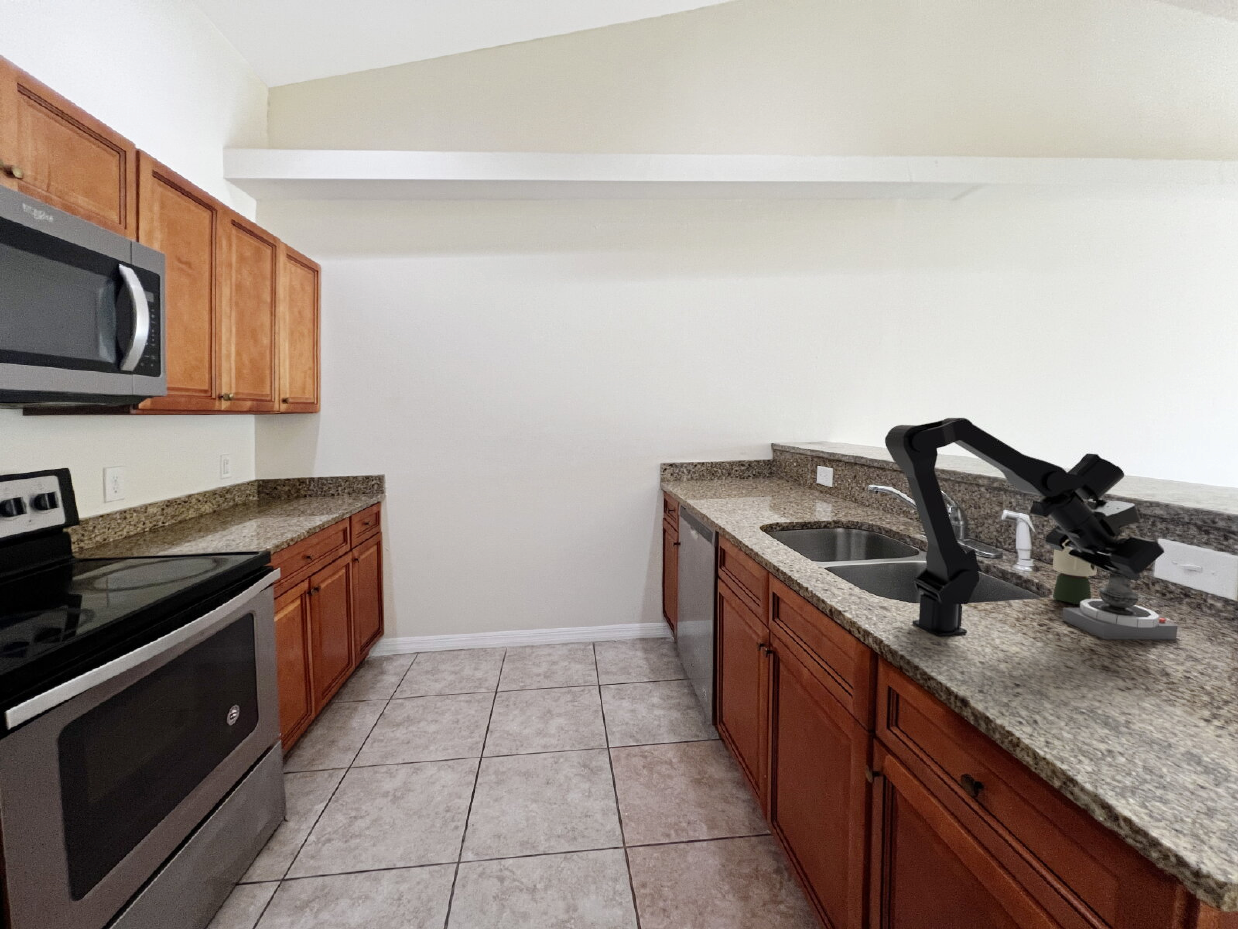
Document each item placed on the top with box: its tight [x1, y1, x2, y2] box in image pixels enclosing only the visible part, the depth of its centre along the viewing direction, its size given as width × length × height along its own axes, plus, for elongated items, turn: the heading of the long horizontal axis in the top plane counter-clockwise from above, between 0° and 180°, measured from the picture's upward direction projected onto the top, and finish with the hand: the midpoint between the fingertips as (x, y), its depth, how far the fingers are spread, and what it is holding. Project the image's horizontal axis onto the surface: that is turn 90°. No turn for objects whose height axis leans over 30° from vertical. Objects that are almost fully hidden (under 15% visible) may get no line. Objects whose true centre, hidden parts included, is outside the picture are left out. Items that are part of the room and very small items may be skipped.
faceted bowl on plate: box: [1061, 598, 1178, 640], centre depth 100 cm, size 13×10×4 cm
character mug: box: [1052, 540, 1098, 606], centre depth 114 cm, size 11×7×13 cm, turn 145°
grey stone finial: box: [1097, 569, 1141, 616], centre depth 99 cm, size 6×6×12 cm
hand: (1127, 576), depth 99 cm, fingers closed on grey stone finial, 3 cm apart
